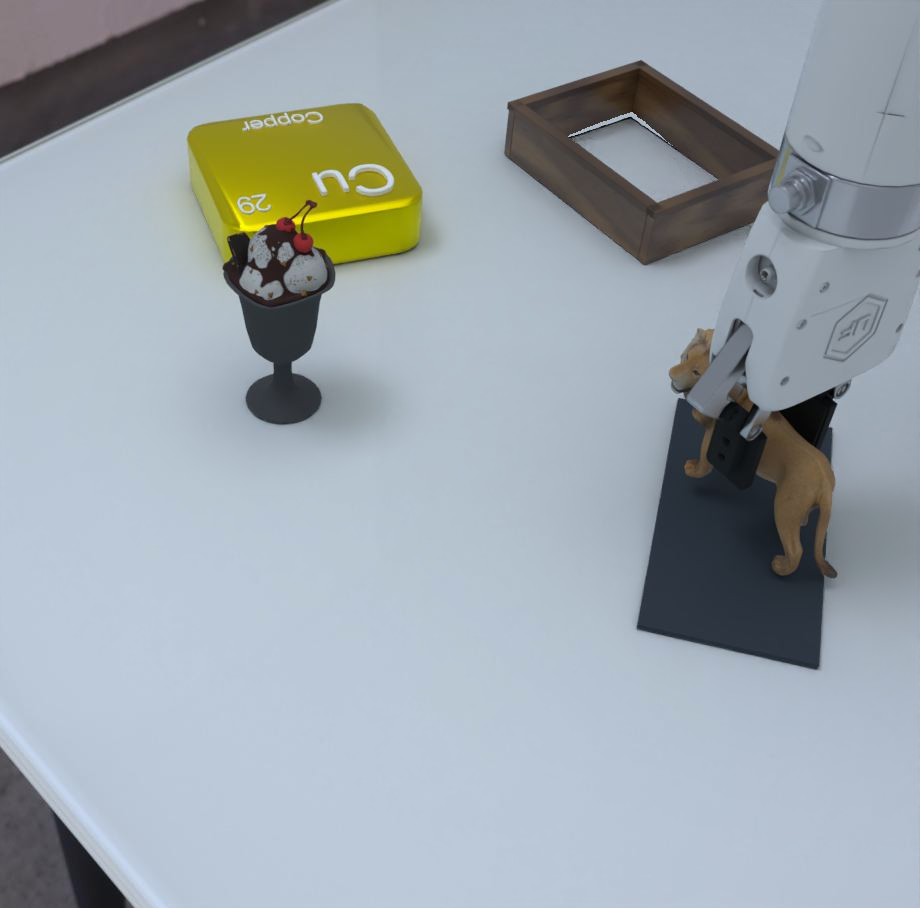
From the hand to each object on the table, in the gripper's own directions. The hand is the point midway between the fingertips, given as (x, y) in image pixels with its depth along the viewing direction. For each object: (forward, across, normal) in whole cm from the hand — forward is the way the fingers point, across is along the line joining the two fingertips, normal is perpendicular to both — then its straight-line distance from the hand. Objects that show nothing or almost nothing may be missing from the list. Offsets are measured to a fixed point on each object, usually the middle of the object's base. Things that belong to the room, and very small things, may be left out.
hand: (762, 454), depth 75 cm
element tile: (+6, -6, +42) cm, 43 cm away
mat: (+6, 0, 0) cm, 6 cm away
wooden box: (+6, +19, +32) cm, 38 cm away
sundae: (+6, -18, +24) cm, 30 cm away
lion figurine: (+4, 0, +1) cm, 4 cm away
